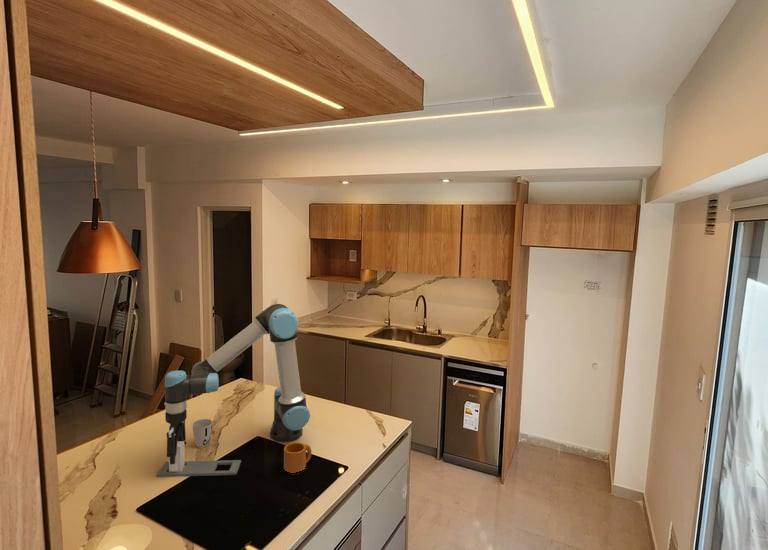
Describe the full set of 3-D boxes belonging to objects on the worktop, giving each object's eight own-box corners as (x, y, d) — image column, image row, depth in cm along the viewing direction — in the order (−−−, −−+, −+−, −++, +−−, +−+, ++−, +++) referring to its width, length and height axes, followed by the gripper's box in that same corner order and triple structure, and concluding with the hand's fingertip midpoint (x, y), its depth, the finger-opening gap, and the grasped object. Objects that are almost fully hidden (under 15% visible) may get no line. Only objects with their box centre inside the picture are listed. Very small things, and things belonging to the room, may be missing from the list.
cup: (205, 450, 187) (205, 428, 186) (188, 447, 189) (188, 426, 188) (215, 441, 195) (215, 420, 194) (200, 438, 197) (199, 418, 196)
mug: (316, 469, 177) (316, 448, 175) (287, 476, 171) (287, 455, 169) (308, 458, 184) (309, 438, 183) (281, 465, 178) (281, 444, 177)
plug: (184, 466, 174) (184, 441, 173) (180, 473, 170) (180, 446, 169) (171, 467, 174) (171, 441, 172) (167, 473, 169) (167, 447, 168)
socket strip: (241, 462, 179) (241, 460, 179) (236, 474, 170) (236, 472, 170) (165, 464, 176) (165, 461, 175) (156, 476, 167) (156, 474, 167)
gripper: (175, 400, 178) (175, 452, 181) (155, 421, 159) (157, 480, 162) (193, 400, 179) (194, 452, 182) (177, 421, 160) (177, 479, 162)
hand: (176, 465), depth 172 cm, fingers open, 6 cm apart
